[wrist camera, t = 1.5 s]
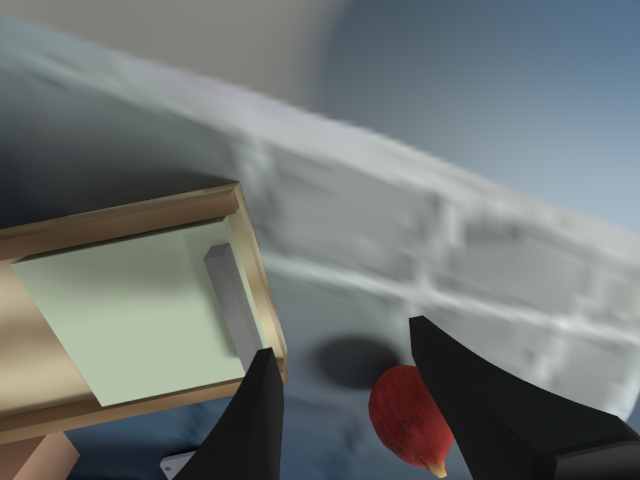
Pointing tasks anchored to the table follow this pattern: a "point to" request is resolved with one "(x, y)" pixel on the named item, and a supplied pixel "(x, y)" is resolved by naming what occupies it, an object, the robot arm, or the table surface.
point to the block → (38, 458)
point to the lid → (149, 309)
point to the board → (47, 351)
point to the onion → (410, 419)
